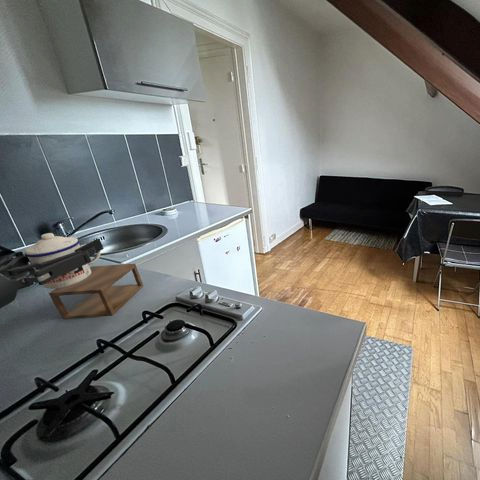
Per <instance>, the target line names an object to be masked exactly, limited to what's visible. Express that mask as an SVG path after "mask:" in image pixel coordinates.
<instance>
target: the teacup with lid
mask: <svg viewBox="0 0 480 480" xmlns="http://www.w3.org/2000/svg"><path fill="white" fill-rule="evenodd" d="M40 237H41V239H39V240H38V241H36V242H35V243H34V244H32V245H30V246H28V247H27V248H26V249H24V252H23V254H24V255H25V256H27V257H28V259H29V261H30V262H31V263H30V262H29V263H30V264H32V263H35V262H37V263H43V262H46V261H49V260H52V259H55V258H58V257H61V256H64V255H67V254H70V253H73V252H75V251H74V250H76V249H78V248H80V247H82V246H84V245H86V244H87V243H84V244H81V245H80V240H79V239H78V238H76V237H73V236H62V235H61V236H60V235H55V234H54V233H53V232H47V233H44V234H42V235H41V236H40ZM100 257H101V251H99V252H97V253H96V254H95V256H94V257H93V258H92V259H91V261H92V262H90V263H88V264H86V265H83V266H81V267H79V268H77V269H74V270H72V271H70V272H68V273H66V274H63V275H61V276H59V277H57V278H54V279H53V280H51V281H49V282H48V283H46V284H44V285H42V286H43V288H45V289H48V290H55V289H56V288H62V287H66V286H70V285H73V284H75V283H78V282H80V281H82V280H84V279H86V278H87V277H88V276H89V275H90V274H91V270H90V267H91V266H90V265H92V264H94V263H96V262H97V261H98V260H99V259H100ZM32 269H33V270H34V271H35V272H36V268H35V267H33V268H32Z"/></svg>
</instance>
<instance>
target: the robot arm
mask: <svg viewBox="0 0 480 480" xmlns="http://www.w3.org/2000/svg"><path fill="white" fill-rule="evenodd" d="M85 244H86V245H84V244H83V245H84V246H82V247H80V248H78V249H76V250H74V251H75V252H73V253H70V254H67V255H64V256H61V257H58V258H55V259H52V260H49V261H46V262H43V263H37V262H35V263H32V264H31V262H30V261H29V259H28V257H27V256H25V255H24V254H25V253H24V252H23V251H21V250H20V251H15V252H14V256H15V257H13V256H12V255H11V256H10V255H9V256H6V257H4V258H2V259H1V260H0V310H1V309H3V308H4V307H6V306H8V305H10V304H11V303H13V302H14V301H15V299H16V297H17V295H18V291H19V290H20V289H23V288H26V287H29V286H31V284H34V283H38V286H43V285H44V284H46V283H48V282H49V281H51V280H53V279H54V278H57V277H59V276H61V275H63V274H66V273H68V272H70V271H72V270H74V269H77V268H79V267H81V266H83V265H86V264H88V263H90V262H92V261H91V260H92V259H91V257H92V256H94V255H96V254H97V252H99V251H100V252H101V251H103V250H105V248H104V246H103V244H102V241H101V238H96V239H94V240H91V241H90V242H87V243H85ZM33 267H35V268H36V272H35V270H34V268H33Z"/></svg>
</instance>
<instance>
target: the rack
mask: <svg viewBox="0 0 480 480" xmlns="http://www.w3.org/2000/svg"><path fill="white" fill-rule="evenodd" d="M89 267H90V270H91V274H90V275H89V276H88V277H87V278H86V279H84V280H82V281H80V282H78V283H75V284H73V285H70V286H66V287H62V288H56V289H52V290H51V291H49V292H48V295H49V297H50V298H51V300H52V302H53V304H54V306H55V308H56V310H57V311H58V313H59V314H60V317H61V319H63V320H66V319H78V318H93V317H107V316H114V315H115V314H116V313H117V312H118V311H119V310H120V309H121V308H123V306H124V305H126V303H127V302H128V301H130V299H131V298H132V297H134V296H135V295H136V294H137V293H138V292H139V291H140V290H141V289H142V288H143V287H144V284H143V281H142V278H141V275H140V273H139V270H138V268H137V265H136V263H122V264H109V265H108V264H107V265H94V266H93V265H92V266H89ZM130 272H132V274H133V277H134V279H135V282H136V284H124V285H123V284H121V285H114V284H116V283H117V282H118V281H120V280H121V279H122V278H124V276H126V275H127V274H129V273H130ZM74 295H75V296H78V295H88V296H87V297H85V298H84V299H83V300H81V301H79V302H78V303H77V304H76V305H75V306H73V307H72V308H71V309H70V310H68V311H67V309H66V307H65V305H64V303H63V301H62V300H61V296H74Z"/></svg>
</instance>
